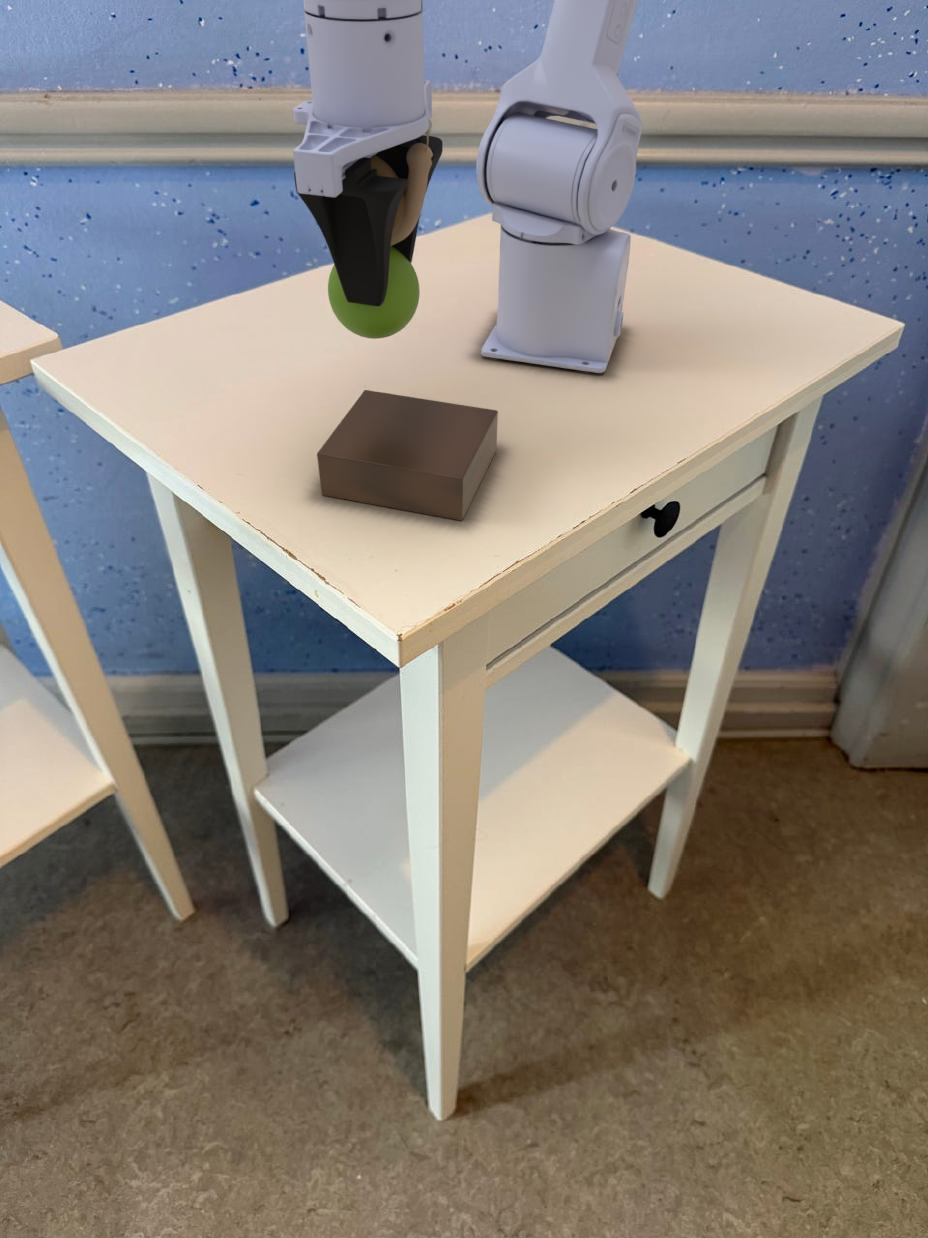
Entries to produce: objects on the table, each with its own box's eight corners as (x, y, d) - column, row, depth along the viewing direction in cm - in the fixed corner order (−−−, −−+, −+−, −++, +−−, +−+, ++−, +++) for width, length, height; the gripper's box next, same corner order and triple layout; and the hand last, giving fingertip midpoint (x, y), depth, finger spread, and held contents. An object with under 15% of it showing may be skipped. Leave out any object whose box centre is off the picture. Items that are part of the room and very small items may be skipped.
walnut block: (496, 450, 59) (498, 409, 57) (462, 521, 54) (462, 478, 52) (367, 429, 61) (364, 389, 59) (321, 495, 56) (316, 453, 54)
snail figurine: (434, 355, 54) (429, 137, 46) (327, 354, 54) (301, 136, 46) (439, 313, 58) (434, 104, 49) (338, 312, 58) (317, 103, 50)
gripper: (343, -19, 50) (360, 234, 59) (216, 33, 39) (260, 330, 49) (467, -11, 48) (464, 247, 57) (368, 45, 38) (384, 348, 47)
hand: (378, 286), depth 53 cm, fingers closed on snail figurine, 4 cm apart
